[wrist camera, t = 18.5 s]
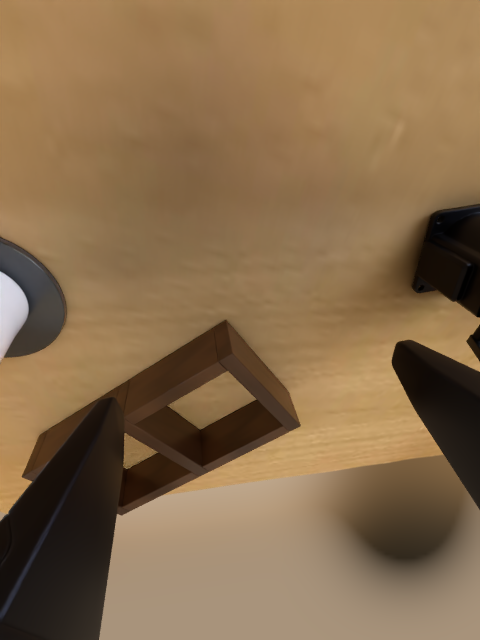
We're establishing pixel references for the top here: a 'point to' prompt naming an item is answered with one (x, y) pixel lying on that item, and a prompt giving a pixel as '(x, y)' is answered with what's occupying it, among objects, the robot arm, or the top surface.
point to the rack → (175, 432)
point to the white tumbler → (11, 312)
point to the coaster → (33, 300)
